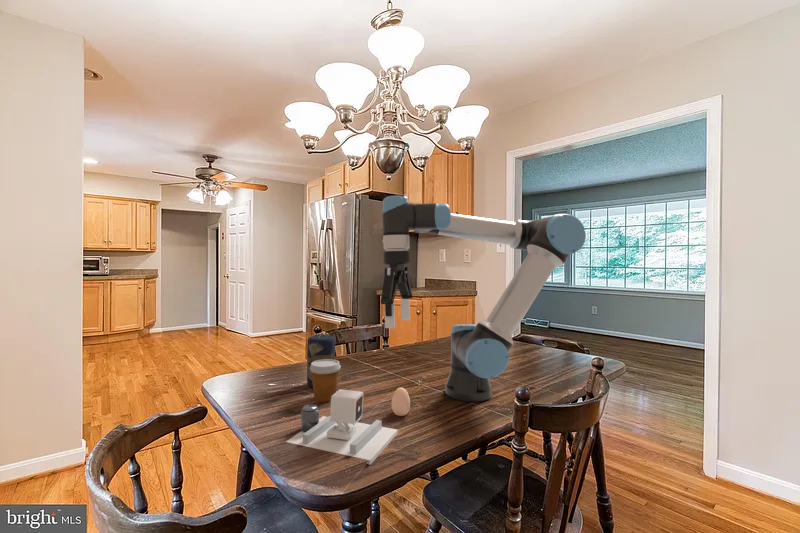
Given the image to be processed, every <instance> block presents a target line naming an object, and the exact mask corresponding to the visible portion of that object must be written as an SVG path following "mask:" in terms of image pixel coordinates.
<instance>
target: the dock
mask: <svg viewBox="0 0 800 533" xmlns="http://www.w3.org/2000/svg"><path fill="white" fill-rule="evenodd" d="M335 423H336V422H333V421H332V422H330V415H328V416H324V415H323V416H321V417H319V423H318V424H317V425H315V426H314V427H313V428H311V429H310V430H308V431H307V432H306V433H305V432H302V431H301V430H300V431H299V432H298V433H296V434H295V435H294V436H292V437H291V438H289V439H288V440H286V441H285V442H286V443H288V444H293V445H298V446H303V447H306V448H312V449H316V450H320V451H321V450H322V451H324V452H329V453H335V454H339V455H342V456H343V455H344V456H348V457H353V458H357V459H362V460H366V462H365V463H364V464H365V465H369V466H370V465H372V463H373V462H374V461H375V460H376V459H377V457H379V455H381V453H382V452H383V451H384V450H385V449H386V447H388V445H389V444H390V443H391V441H393V439H395V437H396V436H397V435H398V433H399V432H398V430H399V429H397V428H390V427H387V426H386V427H385V426H383V424H382V420H380V419H375V421H373V422H372V423H371V424H368V423H364V422H359V421H358V422H357V423H356V424H355V425H353V424H349V425H352V426H356V427H355V432H354V434H353V435H352V436H351V437H350V438H349V440H344V439H337V438H330V437H327V431H328V430H329V429H330V428H332V426H333V425H334V424H335ZM342 424H343V423H342Z"/></svg>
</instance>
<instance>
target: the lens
mask: <svg viewBox="0 0 800 533" xmlns="http://www.w3.org/2000/svg"><path fill="white" fill-rule="evenodd" d="M300 411H301V412H300V413H301V414H300V415H301V416H300V417H301V418H300V422H301V423H300V432H301V431H302V432H305V433H306V432H307V431H308V430H310V429H311V428H313V427H314V426H315V425H317V424H318V423H319V419H320V407H318V405H317V404H313V403H309V404H306V405H303V407H302V408H301V410H300Z"/></svg>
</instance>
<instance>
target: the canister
mask: <svg viewBox="0 0 800 533" xmlns="http://www.w3.org/2000/svg"><path fill="white" fill-rule="evenodd" d="M335 346H336V340H335V337H334V336H332V335H330V334H329V335H328V334H327V335H326V334H324V333H321V334H317V335H311V336H309V337H308V339H307V346H306V347H307V356H306V383H307V385H309V387H312V388H313V382H312V374H311V371H310V366H311V363H312V362H314V361H317V360H324V359H331V360H336V358H335V356H336V354H335V353H336V352H335V350H336V347H335Z"/></svg>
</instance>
